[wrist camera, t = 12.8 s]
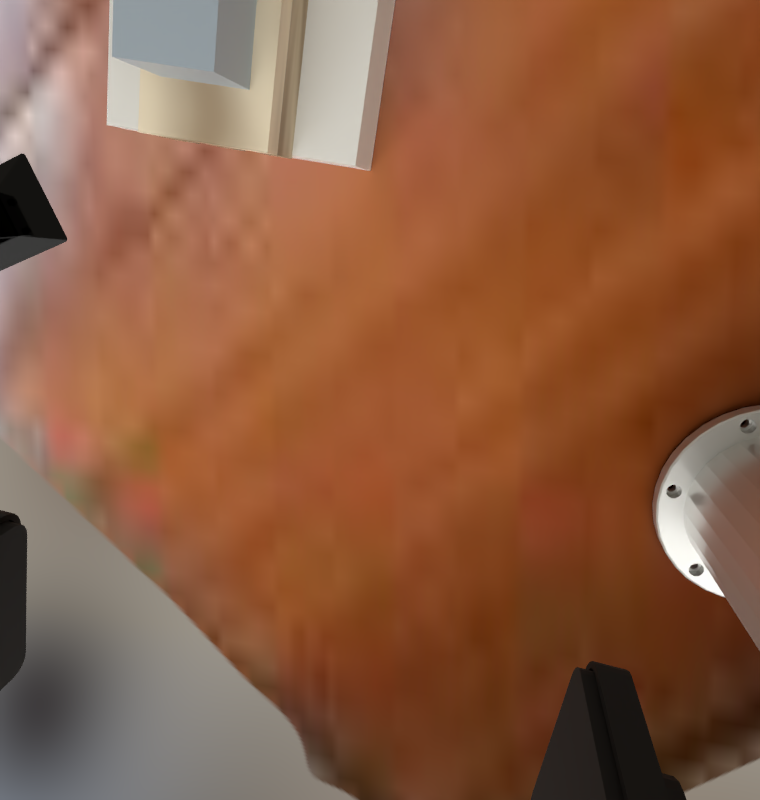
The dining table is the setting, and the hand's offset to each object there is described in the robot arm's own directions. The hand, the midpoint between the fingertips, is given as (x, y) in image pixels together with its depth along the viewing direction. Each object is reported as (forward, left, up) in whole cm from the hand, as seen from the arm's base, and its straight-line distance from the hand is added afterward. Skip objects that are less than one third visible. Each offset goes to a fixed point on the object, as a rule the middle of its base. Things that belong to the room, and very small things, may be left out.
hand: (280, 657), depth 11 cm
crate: (+11, -13, -21) cm, 26 cm away
